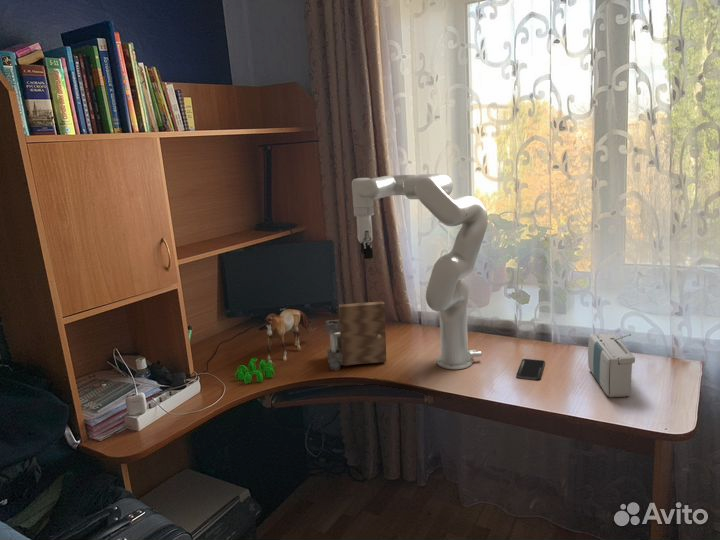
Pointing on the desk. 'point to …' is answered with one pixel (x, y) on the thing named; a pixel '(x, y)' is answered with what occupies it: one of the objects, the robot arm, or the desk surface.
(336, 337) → the cabinet
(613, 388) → the stereo radio cassette player
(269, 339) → the horse figurine
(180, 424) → the desk surface
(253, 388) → the desk surface
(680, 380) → the desk surface
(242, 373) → the green lumpy cluster
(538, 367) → the phone
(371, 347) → the walnut door
